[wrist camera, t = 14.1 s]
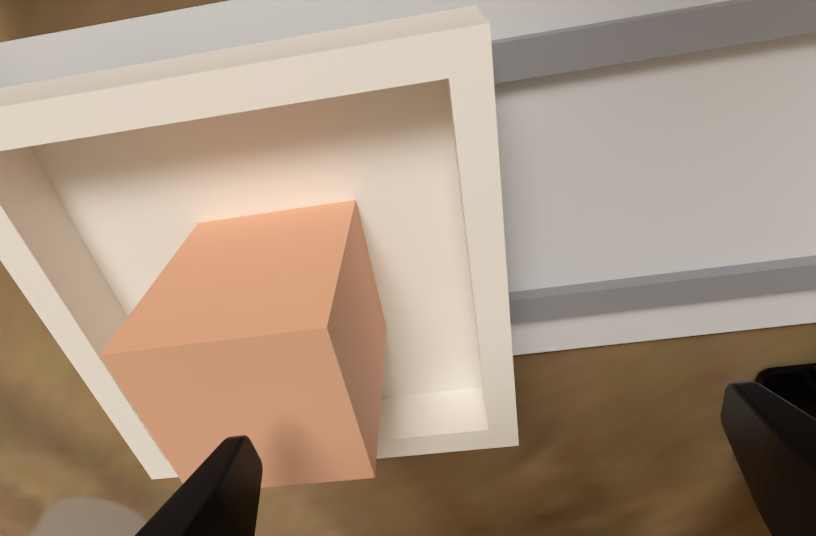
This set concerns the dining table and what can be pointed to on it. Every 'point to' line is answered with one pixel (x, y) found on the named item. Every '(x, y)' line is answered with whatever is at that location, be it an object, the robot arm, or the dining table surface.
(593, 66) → the track
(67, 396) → the dining table surface
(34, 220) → the cream rimmed tray
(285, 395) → the block
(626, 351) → the dining table surface
